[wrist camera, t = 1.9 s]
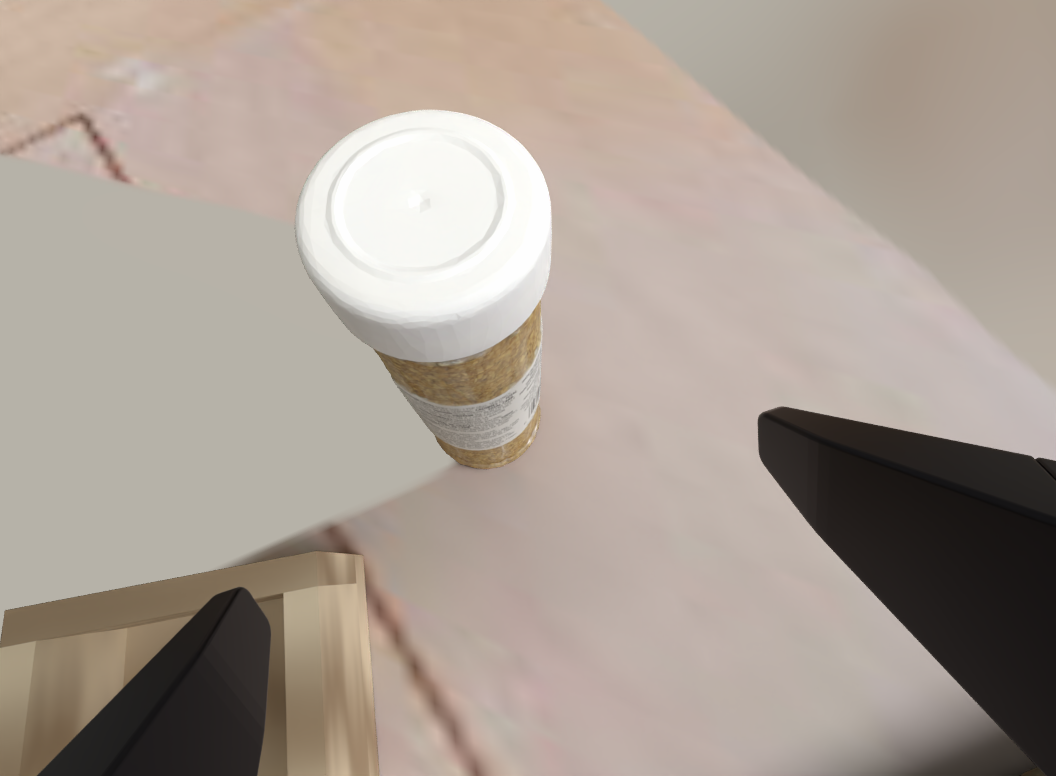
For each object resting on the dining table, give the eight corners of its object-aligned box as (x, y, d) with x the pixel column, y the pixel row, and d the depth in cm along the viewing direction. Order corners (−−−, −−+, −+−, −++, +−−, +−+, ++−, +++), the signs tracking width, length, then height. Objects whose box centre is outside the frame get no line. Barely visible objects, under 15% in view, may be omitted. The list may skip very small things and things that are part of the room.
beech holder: (384, 842, 17) (333, 934, 12) (99, 905, 16) (-55, 1023, 12) (363, 555, 20) (316, 551, 15) (121, 601, 19) (5, 610, 15)
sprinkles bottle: (456, 354, 22) (356, 72, 10) (556, 386, 22) (587, 131, 9) (414, 451, 21) (234, 270, 8) (520, 488, 20) (498, 354, 8)
